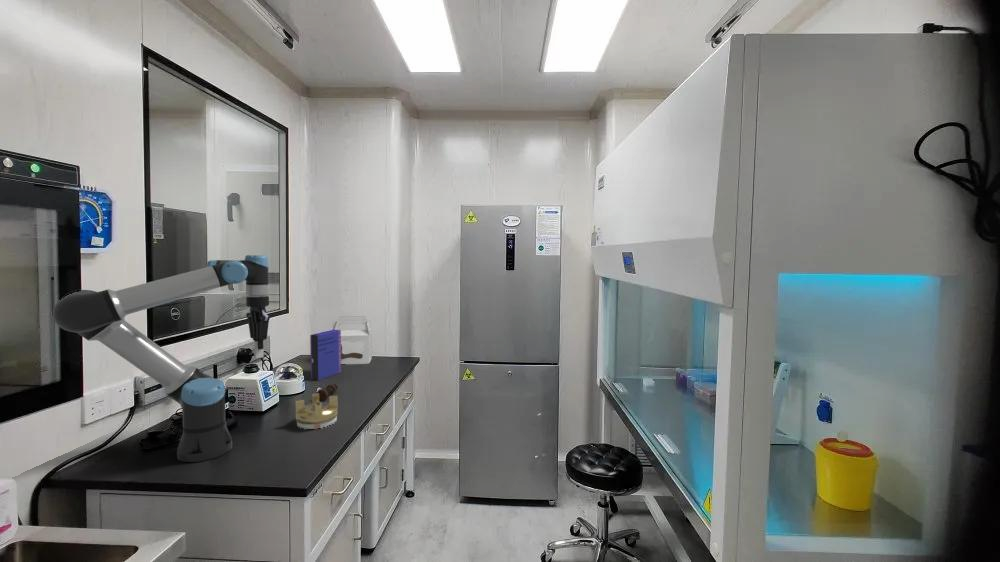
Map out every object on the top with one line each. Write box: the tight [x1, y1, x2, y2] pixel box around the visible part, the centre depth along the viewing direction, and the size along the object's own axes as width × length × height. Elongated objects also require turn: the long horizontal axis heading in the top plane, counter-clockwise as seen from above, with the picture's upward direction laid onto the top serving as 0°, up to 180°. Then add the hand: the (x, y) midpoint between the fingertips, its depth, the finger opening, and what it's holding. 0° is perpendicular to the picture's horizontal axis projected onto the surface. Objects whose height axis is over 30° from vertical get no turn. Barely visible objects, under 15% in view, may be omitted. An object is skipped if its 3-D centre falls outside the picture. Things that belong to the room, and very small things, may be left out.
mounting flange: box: [296, 416, 338, 430], centre depth 168 cm, size 14×14×2 cm
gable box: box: [332, 315, 373, 365], centre depth 263 cm, size 22×13×28 cm, turn 101°
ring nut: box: [295, 392, 339, 424], centre depth 168 cm, size 15×15×7 cm
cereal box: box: [309, 329, 342, 382], centre depth 231 cm, size 17×5×24 cm, turn 160°
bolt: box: [316, 383, 338, 402], centre depth 200 cm, size 6×5×15 cm
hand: (258, 357), depth 164 cm, fingers closed
